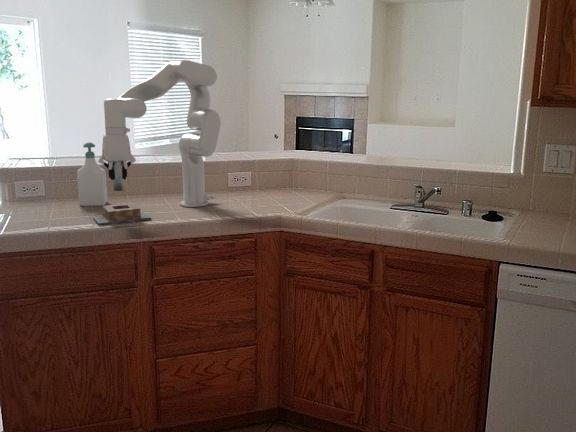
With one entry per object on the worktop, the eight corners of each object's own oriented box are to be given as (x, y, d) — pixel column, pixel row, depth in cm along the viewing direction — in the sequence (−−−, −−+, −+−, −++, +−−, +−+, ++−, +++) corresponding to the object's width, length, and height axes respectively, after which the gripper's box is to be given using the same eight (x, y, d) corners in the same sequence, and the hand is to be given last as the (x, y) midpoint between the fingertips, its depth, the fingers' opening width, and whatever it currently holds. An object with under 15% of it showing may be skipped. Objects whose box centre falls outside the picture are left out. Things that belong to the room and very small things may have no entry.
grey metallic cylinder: (122, 188, 216) (121, 158, 213) (125, 190, 212) (123, 159, 210) (112, 189, 214) (110, 159, 211) (114, 191, 210) (112, 160, 208)
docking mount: (143, 213, 226) (142, 201, 225) (151, 219, 216) (150, 207, 215) (92, 219, 217) (91, 206, 216) (98, 225, 206) (97, 213, 205)
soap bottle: (108, 201, 250) (104, 141, 244) (105, 205, 242) (100, 143, 236) (83, 201, 249) (78, 141, 242) (79, 205, 241) (74, 143, 234)
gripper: (135, 130, 215) (137, 176, 219) (91, 131, 207) (93, 179, 211) (140, 132, 209) (142, 179, 213) (94, 132, 201) (97, 181, 205)
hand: (118, 178), depth 212 cm, fingers closed on grey metallic cylinder, 4 cm apart
